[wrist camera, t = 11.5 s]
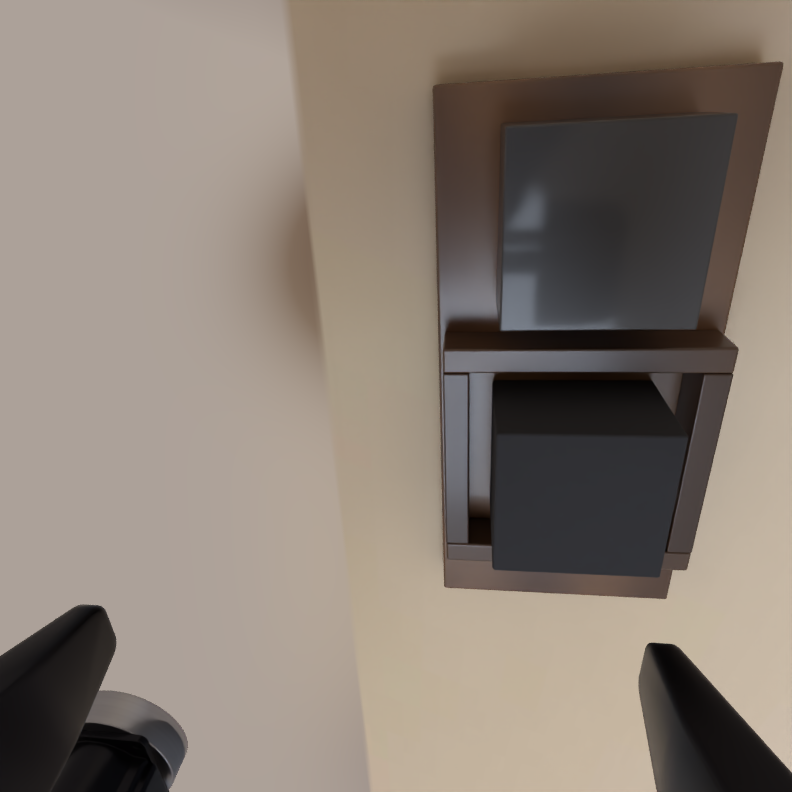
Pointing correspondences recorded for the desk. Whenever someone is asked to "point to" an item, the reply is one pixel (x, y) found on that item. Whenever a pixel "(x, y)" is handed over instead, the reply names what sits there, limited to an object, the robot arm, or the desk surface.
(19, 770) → the robot arm
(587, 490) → the black cube
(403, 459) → the desk surface
